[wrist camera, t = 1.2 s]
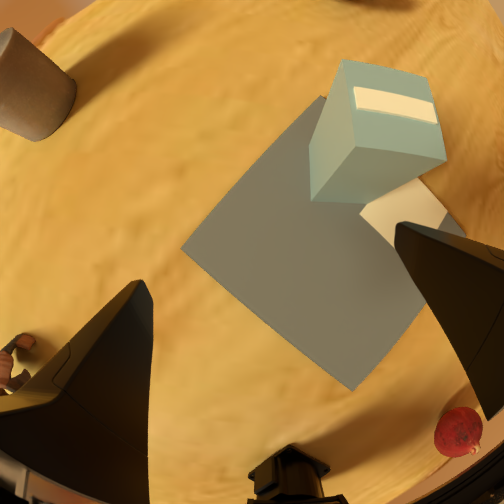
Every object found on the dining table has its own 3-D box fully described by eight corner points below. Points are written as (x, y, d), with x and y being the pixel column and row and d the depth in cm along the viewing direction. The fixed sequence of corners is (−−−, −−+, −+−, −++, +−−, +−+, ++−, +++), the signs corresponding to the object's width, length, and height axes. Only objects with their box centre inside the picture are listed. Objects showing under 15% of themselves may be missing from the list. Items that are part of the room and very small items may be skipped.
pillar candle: (62, 69, 25) (1, 16, 10) (88, 93, 24) (13, 27, 9) (19, 123, 25) (-51, 87, 10) (39, 157, 25) (-51, 119, 10)
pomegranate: (416, 423, 22) (449, 461, 14) (453, 387, 22) (494, 416, 14) (431, 444, 22) (461, 478, 14) (465, 412, 22) (500, 439, 14)
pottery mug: (52, 335, 25) (28, 390, 17) (73, 384, 29) (59, 433, 21) (-15, 318, 22) (-41, 361, 15) (9, 366, 26) (-8, 407, 19)
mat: (463, 235, 22) (467, 235, 22) (351, 389, 22) (352, 392, 22) (319, 97, 23) (320, 94, 23) (182, 248, 23) (180, 248, 23)
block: (362, 150, 22) (428, 76, 10) (367, 204, 22) (449, 159, 10) (308, 145, 23) (342, 56, 10) (310, 201, 22) (356, 144, 10)
